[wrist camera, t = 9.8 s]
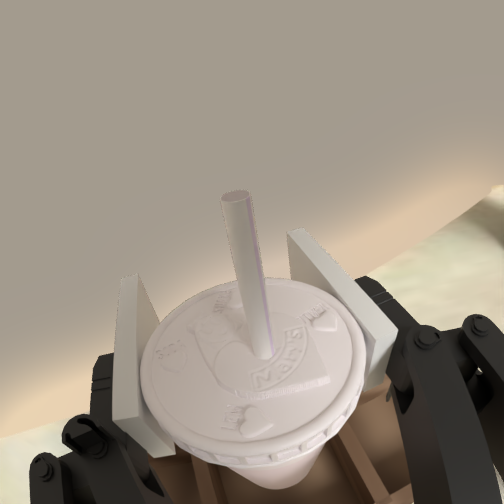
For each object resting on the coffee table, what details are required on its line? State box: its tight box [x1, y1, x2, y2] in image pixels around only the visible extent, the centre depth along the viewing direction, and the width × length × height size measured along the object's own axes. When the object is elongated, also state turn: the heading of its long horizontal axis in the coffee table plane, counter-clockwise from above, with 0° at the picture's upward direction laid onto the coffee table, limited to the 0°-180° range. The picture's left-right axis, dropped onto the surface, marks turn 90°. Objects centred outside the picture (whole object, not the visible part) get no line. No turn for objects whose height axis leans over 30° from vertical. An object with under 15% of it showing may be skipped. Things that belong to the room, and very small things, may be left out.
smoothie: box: [140, 190, 366, 489], centre depth 9 cm, size 6×6×14 cm
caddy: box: [147, 374, 414, 504], centre depth 17 cm, size 32×12×5 cm, turn 106°
